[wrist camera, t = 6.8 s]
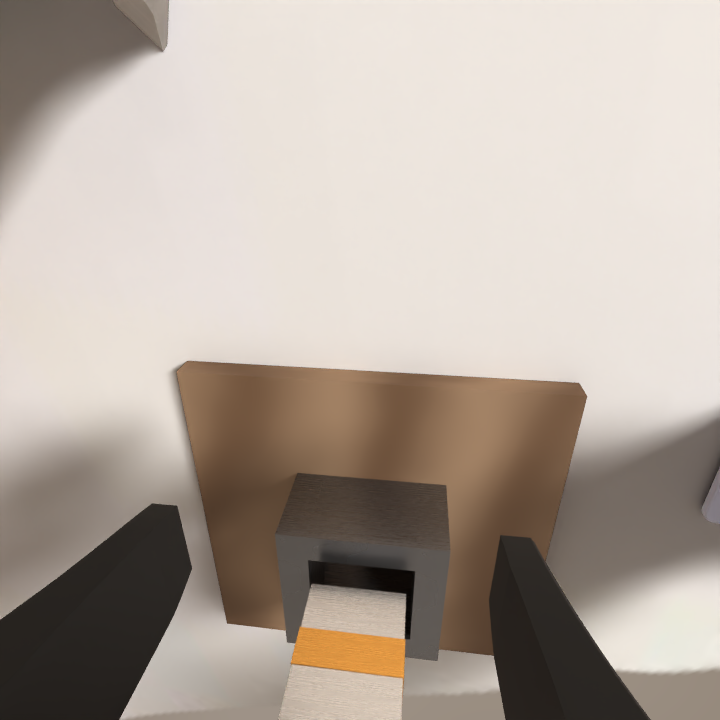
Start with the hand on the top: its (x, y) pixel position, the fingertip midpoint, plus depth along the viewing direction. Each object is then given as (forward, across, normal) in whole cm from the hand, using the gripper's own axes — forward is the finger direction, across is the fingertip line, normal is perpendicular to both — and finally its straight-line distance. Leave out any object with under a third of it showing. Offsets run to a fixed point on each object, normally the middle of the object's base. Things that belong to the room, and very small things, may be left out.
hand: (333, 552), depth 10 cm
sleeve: (+9, 0, +8) cm, 13 cm away
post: (+4, 0, +8) cm, 9 cm away
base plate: (+9, 0, +8) cm, 13 cm away
